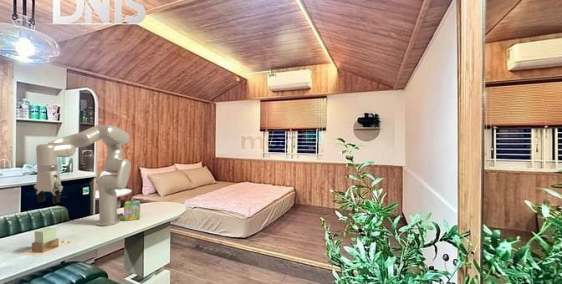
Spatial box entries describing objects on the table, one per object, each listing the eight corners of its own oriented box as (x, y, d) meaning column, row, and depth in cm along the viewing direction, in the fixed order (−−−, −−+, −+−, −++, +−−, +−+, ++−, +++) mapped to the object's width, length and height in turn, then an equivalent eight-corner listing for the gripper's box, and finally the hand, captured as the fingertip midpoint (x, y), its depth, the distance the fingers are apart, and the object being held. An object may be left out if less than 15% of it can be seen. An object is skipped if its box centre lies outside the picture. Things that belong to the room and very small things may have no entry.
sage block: (47, 238, 128) (47, 227, 127) (55, 239, 126) (55, 228, 126) (34, 242, 122) (34, 231, 122) (43, 243, 121) (43, 232, 121)
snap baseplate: (58, 240, 137) (58, 237, 137) (79, 243, 133) (79, 240, 133) (17, 255, 119) (17, 252, 119) (39, 259, 116) (39, 255, 116)
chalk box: (125, 217, 176) (125, 196, 175) (140, 215, 180) (140, 195, 179) (123, 221, 167) (123, 199, 167) (139, 219, 171) (139, 198, 171)
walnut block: (48, 245, 129) (48, 237, 128) (58, 246, 127) (58, 238, 127) (31, 251, 122) (31, 243, 122) (42, 252, 120) (42, 244, 120)
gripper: (68, 168, 128) (70, 201, 129) (42, 167, 132) (44, 199, 133) (52, 170, 121) (54, 205, 122) (25, 169, 125) (27, 203, 126)
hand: (49, 202), depth 127 cm, fingers open, 9 cm apart
